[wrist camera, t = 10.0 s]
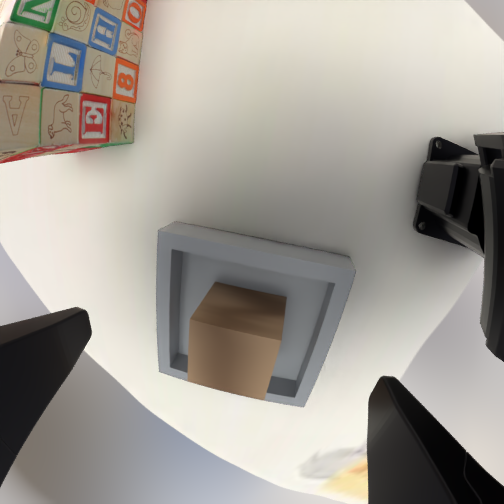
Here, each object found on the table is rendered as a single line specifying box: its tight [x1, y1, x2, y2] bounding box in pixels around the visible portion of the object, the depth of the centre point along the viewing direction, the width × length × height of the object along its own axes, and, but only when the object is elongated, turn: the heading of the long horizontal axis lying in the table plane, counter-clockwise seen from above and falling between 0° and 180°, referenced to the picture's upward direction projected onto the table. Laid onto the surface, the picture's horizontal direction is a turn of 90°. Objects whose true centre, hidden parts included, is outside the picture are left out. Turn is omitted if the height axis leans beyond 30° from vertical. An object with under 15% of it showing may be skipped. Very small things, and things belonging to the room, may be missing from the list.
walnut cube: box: [187, 282, 287, 400], centre depth 18 cm, size 5×5×5 cm
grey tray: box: [156, 222, 356, 407], centre depth 19 cm, size 12×12×2 cm
